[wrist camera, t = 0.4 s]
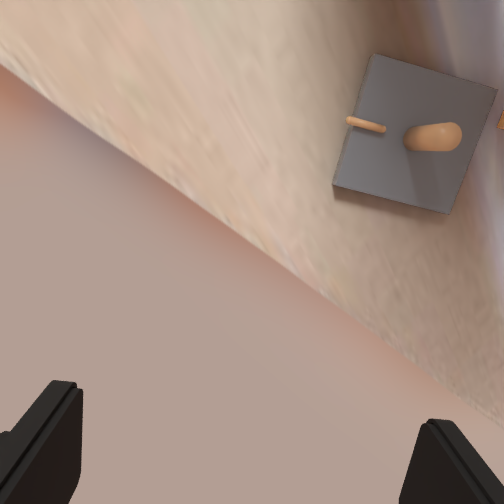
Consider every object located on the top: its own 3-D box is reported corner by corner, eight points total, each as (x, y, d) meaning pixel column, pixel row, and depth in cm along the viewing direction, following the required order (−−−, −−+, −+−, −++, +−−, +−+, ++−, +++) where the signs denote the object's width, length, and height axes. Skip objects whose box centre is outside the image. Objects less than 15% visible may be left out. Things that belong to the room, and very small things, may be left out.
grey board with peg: (360, 54, 35) (391, 30, 28) (487, 91, 36) (549, 78, 29) (322, 181, 38) (342, 189, 31) (441, 212, 39) (486, 226, 32)
